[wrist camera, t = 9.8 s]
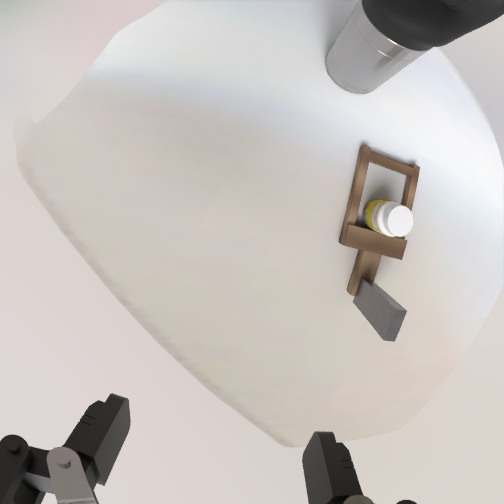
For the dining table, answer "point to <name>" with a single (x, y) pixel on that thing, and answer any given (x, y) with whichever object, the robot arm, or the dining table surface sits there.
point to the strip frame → (375, 249)
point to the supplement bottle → (388, 218)
